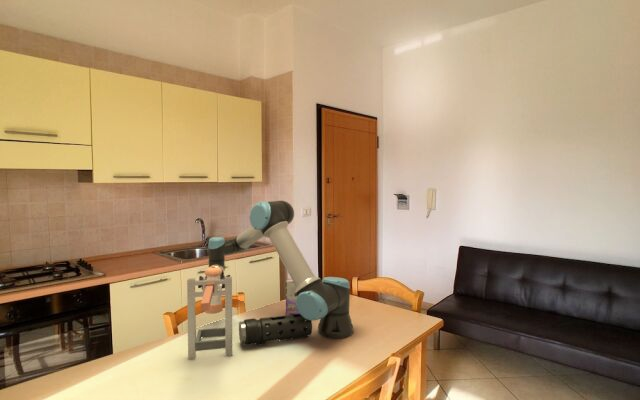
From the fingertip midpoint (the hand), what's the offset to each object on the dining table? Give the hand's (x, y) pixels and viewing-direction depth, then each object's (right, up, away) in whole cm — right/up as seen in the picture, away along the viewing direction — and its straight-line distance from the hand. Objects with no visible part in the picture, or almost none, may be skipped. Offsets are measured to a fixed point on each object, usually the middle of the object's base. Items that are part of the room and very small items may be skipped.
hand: (212, 289), depth 147 cm
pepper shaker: (-1, -10, +6) cm, 12 cm away
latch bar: (+5, +1, -23) cm, 24 cm away
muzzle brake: (+25, -21, 0) cm, 33 cm away
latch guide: (+3, -21, -13) cm, 25 cm away
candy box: (+34, -19, +30) cm, 49 cm away
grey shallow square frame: (+1, -21, -1) cm, 21 cm away
